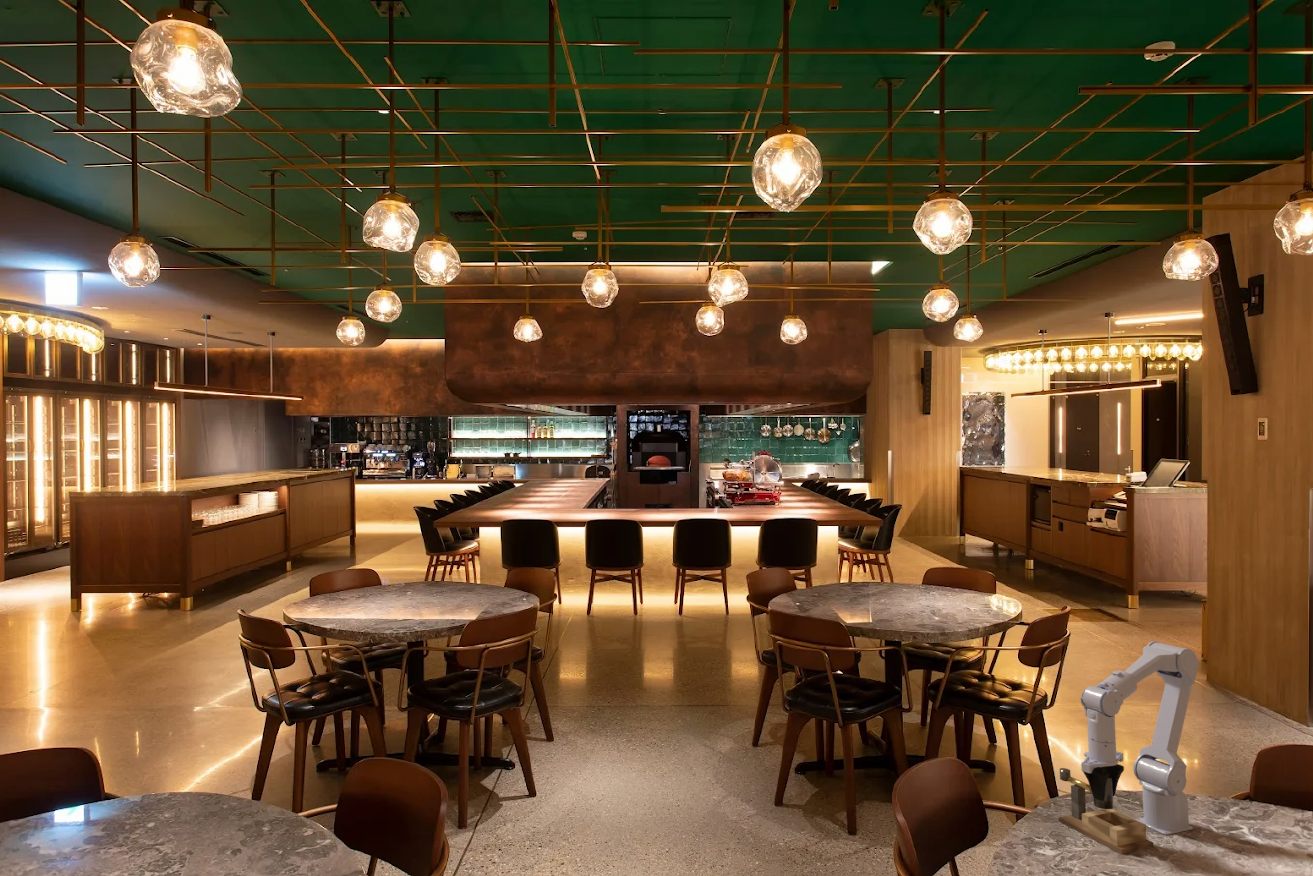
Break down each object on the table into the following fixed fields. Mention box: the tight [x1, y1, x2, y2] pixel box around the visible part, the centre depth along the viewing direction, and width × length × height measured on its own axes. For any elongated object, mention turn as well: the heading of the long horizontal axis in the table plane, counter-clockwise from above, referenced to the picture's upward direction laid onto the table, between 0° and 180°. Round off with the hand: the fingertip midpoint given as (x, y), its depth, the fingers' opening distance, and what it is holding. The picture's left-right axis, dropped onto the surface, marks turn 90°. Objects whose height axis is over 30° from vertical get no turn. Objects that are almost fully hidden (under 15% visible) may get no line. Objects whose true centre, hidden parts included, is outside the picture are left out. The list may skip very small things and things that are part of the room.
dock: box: [1058, 784, 1154, 855], centre depth 177 cm, size 10×17×8 cm, turn 19°
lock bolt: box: [1059, 767, 1092, 793], centre depth 185 cm, size 2×9×2 cm, turn 19°
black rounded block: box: [1093, 775, 1114, 810], centre depth 176 cm, size 4×4×7 cm
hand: (1104, 797), depth 176 cm, fingers closed on black rounded block, 4 cm apart
